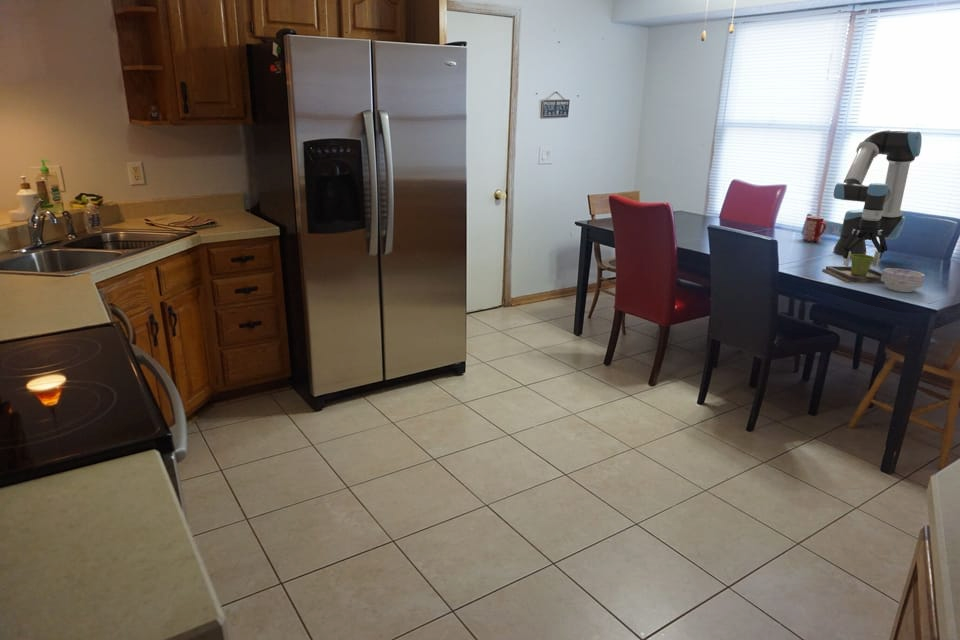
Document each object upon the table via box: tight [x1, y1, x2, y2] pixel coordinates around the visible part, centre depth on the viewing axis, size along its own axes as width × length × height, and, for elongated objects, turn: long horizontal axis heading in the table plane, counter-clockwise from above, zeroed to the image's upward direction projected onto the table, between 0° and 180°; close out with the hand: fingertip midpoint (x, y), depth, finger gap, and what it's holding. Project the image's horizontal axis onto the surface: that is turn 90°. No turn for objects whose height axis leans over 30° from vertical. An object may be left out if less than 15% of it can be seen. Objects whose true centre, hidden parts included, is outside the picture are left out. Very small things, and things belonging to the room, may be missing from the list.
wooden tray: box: [821, 265, 885, 284], centre depth 289 cm, size 22×20×2 cm
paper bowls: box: [881, 267, 926, 293], centre depth 269 cm, size 15×15×8 cm
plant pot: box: [850, 254, 875, 276], centre depth 288 cm, size 9×9×9 cm
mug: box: [803, 215, 827, 242], centre depth 364 cm, size 13×9×14 cm
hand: (860, 265), depth 288 cm, fingers open, 13 cm apart
